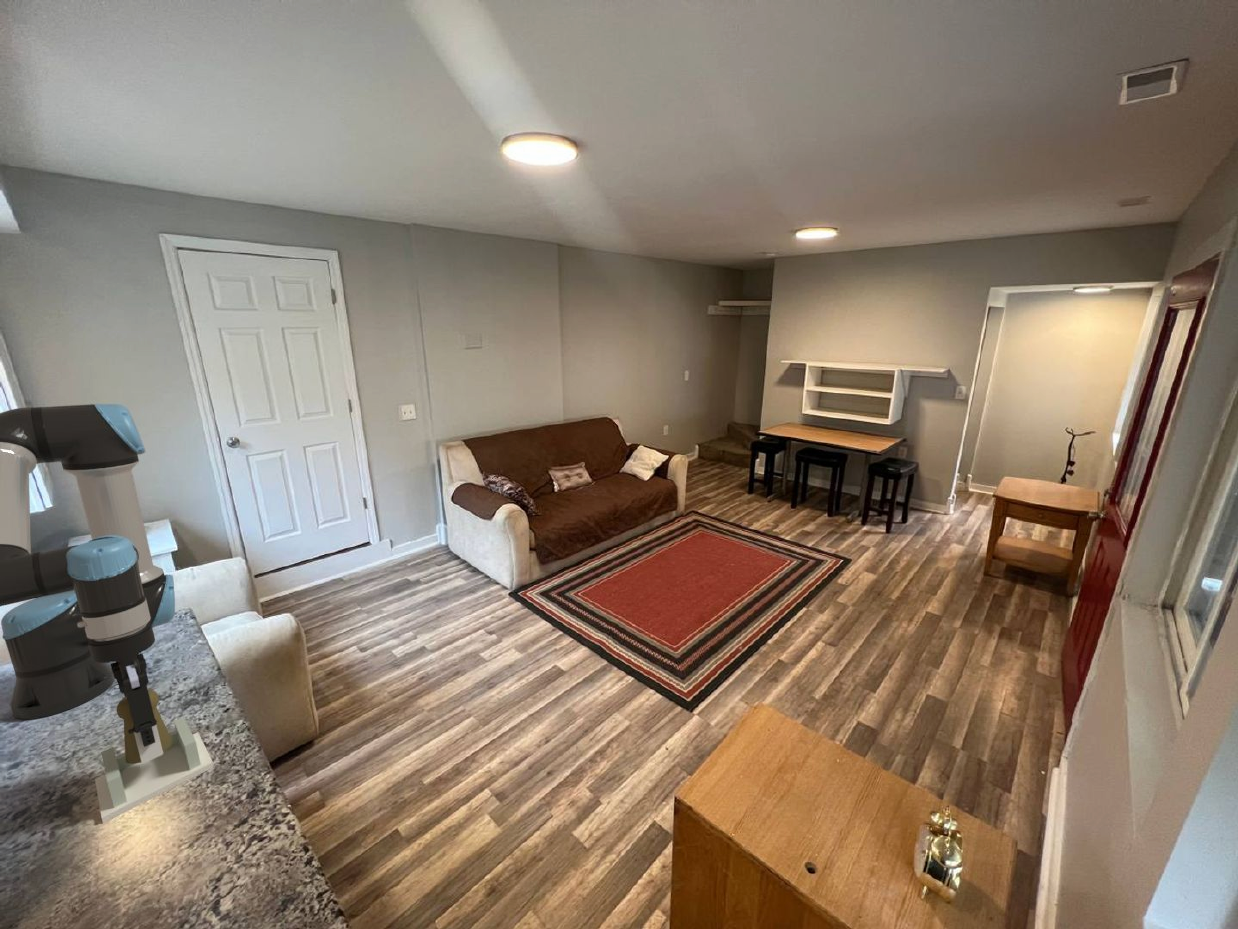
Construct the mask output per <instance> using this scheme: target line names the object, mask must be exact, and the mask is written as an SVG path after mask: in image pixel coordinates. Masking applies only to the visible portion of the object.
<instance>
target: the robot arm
mask: <svg viewBox="0 0 1238 929" xmlns="http://www.w3.org/2000/svg"><path fill="white" fill-rule="evenodd" d="M145 453H146V448H145V446H144V443H143V441H142V439H141V435H140V433H139V430H138V429H137V426H136V423H135V421H134V418H133V416H132V414H131V412H130V410H129V409H128V408H127V407H126V406H124V405H122V404H118V403H112V404H110V403H109V404H108V403H89V404H73V405H55V406H40V407H39V406H37V407H33V406H30V407H28V406H27V407H17V408H14V409H13V408H12V409H9V410H5V411H2V412H0V607H4V606H8V605H12V604H17V603H21V604H20V605H17V606H16V607H14V608H12V609H11V610H9V611H7V612H6V613H5V614H4V615H3V617H2V619H1V620H0V624H1V625H0V626H1V631H2V639H3V640H4V642H5V645H6V647H7V651H8V655H9V657H10V661H11V663H12V667H13V671H14V675H15V678H16V679H15V680H16V681H15V685H14V690H13V693H12V699H11V702H10V708H11V711H12V715H13V717H14V718H16V719H18V720H19V719H20V720H34V719H40V718H43V717H44V718H45V717H49V716H53V715H56V714H60V713H62V712H65V711H68V710H71V709H73V708H76V707H78V706H81V705H83V704H84V703H87V702H89V701H91V700H93V699H95V698H96V697H98V696H100V695H101V694H103V693H104V692H105V691H107V690H109V688H110V687H111V686H112V685H113V684H114V682H115V680H116V682H117V684H118V689H119V691H120V693H121V694H123V695H124V698H125V697H126V698H127V702H128V706H129V709H130V713H131V717H132V721H133V725H134V727H133V729H130V730H128V732H129V734H132V733H134V735H135V739H136V743H137V747H138V750H139V754H140V758H141V762H142V764H143V763H146V762H148V761H150V760H152V759H154V758H156V757H159V756H161V755H163V750H162V746H161V742H160V738H159V733H158V729H157V725H156V724H157V721H156V720H155V717H154V713H153V709H152V705H151V701H150V697H149V693H148V690H149V688H148V684H149V683H150V682H149V677H148V673H147V668H148V665H147V660H146V659H145V657H144V653H142V652H145V651H147V650H148V649H150V648H151V647H152V646H153V645H154V644H155V642H156V637H155V633H154V628H156V627H159V626H162V625H165V624H168V623H169V622H172V620H173V619H174V618H175V613H176V598H175V597H176V596H175V595H176V594H175V582H174V576H173V574H165V572H164V569H163V568H162V567H159V566H156V565H154V562H153V559H152V555H151V550H150V546H149V540H148V537H147V532H146V529H145V524H144V519H143V516H142V511H141V506H140V502H139V501H140V500H139V496H138V494H137V490H136V485H135V479H134V475H133V471H132V470H133V469H134V467H136V466H137V465H138V464H139V463H140V460H139V455H143V454H145ZM59 462H60V463H61V466H62V469H63V471H64V472H66V473H68V474H71V475H73V476H74V477H75V479H76V482H77V486H78V491H79V495H80V498H81V502H82V506H83V509H84V510H83V511H84V514H85V519H86V521H87V525H88V529H89V534H90V538H91V539H90V540H89V541H87V542H84V543H80V544H75V545H69V546H64V547H60V548H54V549H49V550H43V551H37V552H32V550H31V549H32V546H31V544H32V543H31V542H32V541H31V540H32V539H31V510H30V508H31V506H30V504H31V500H30V496H31V495H30V474H31V473H32V472H33V471H34V470H35V469H36V468H37V465H38V464H44V463H46V464H49V463H59ZM25 601H26V602H25ZM22 602H23V603H22ZM112 662H113V663H112ZM108 663H110V665H109V664H108Z"/></svg>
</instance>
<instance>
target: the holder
mask: <svg viewBox="0 0 1238 929" xmlns="http://www.w3.org/2000/svg"><path fill="white" fill-rule="evenodd" d="M173 724H174V727H175V728H174V729H175V730H173V731H171V732H169V734H170V736H171V739H172V744H171V745H170V747H169V748H168V749H167V750H165V751H164V752H163V755H161V756H159V757H156V758H154V759H152V760H150V761H148V762H146V763H143V764H142V762H141V763H136V764H129V763H127V762H126V760H125V752H124V753H121V754H119V755H117V756H116V751H115V748H114V746H112V747H110V748H108V749H105V750H103V751H100V753H101V759H102V762H103V767H104V768H103V769H104V772H105V774H103V775H100V776H98V777H96V778H94V781H95V782H94V783H95V787H96V793H97V800H98V806H99V811H100V816H101V821H102V823H103V824H105V823H106V822H108V821H110V820H113V819H114V818H116V817H118V816H120V815H122V814H124V813H126V812H127V811H128V812H129V811H130V810H132V809H134V808H136V807H138V806H140V805H141V804H143V803H146V802H147V801H149V800H152V799H154V798H155V797H157V796H160V795H161V794H164V793H165V792H167V791H170V790H171V789H173V788H175V787H177V786H179V785H181V784H183V783H185V782H187V781H189V780H191V779H192V778H195V777H196V776H199V775H201V774H203V773H205V772H206V771H209V770H211V769H213V768H215V767H214V765H215V764H214V762H213V760H212V758H211V755H210V754H209V752H208V750H207V748H206V745H205V743H204V741H203V739H202V737H201V735H200V733H199V732H198V731H197V732H195V733H192V730H191V729H190V726H189V724H188V722H187V720H186V717H185V716H182V717H180V718H177V719H175V720H173Z"/></svg>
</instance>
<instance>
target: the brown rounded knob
mask: <svg viewBox="0 0 1238 929" xmlns="http://www.w3.org/2000/svg"><path fill="white" fill-rule="evenodd" d="M148 693H149V697H150V701H151V705H152V709H153V713H154V717H155V720H156V721H157V724H156V725H157V729H158V733H159V738H160V742H161V746H162V750H163V752H164V751H165V750H167V749H168V748H169V747H170V745H171V744H172V739H171V736H170V734H169V733H170V732H169V731H168V728H167V727H166V724H165V722H164V720H163V718H162V715H161V713H160V711H159V709H158V707H157V706H158V704H159V703H160V702H159V700H160V696H159V694H158V693H157V691H155V690H153V689H148ZM115 710H116V714H117V716H118V717H119V719H122V720H123V734H124V735H123V736H124V753H125V760H126V762H127V763H129V764H136V763H141V758H140V754H139V750H138V747H137V743H136V739H135V735H134V733H132V734H129V732H128V730H130V729H133V727H134V725H133V721H132V717H131V713H130V709H129V706H128V702H127V698H126V697H125V696H124V697H123V698H122V699H121V700H120V701H119V702H118V704H117V706H116V709H115Z"/></svg>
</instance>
